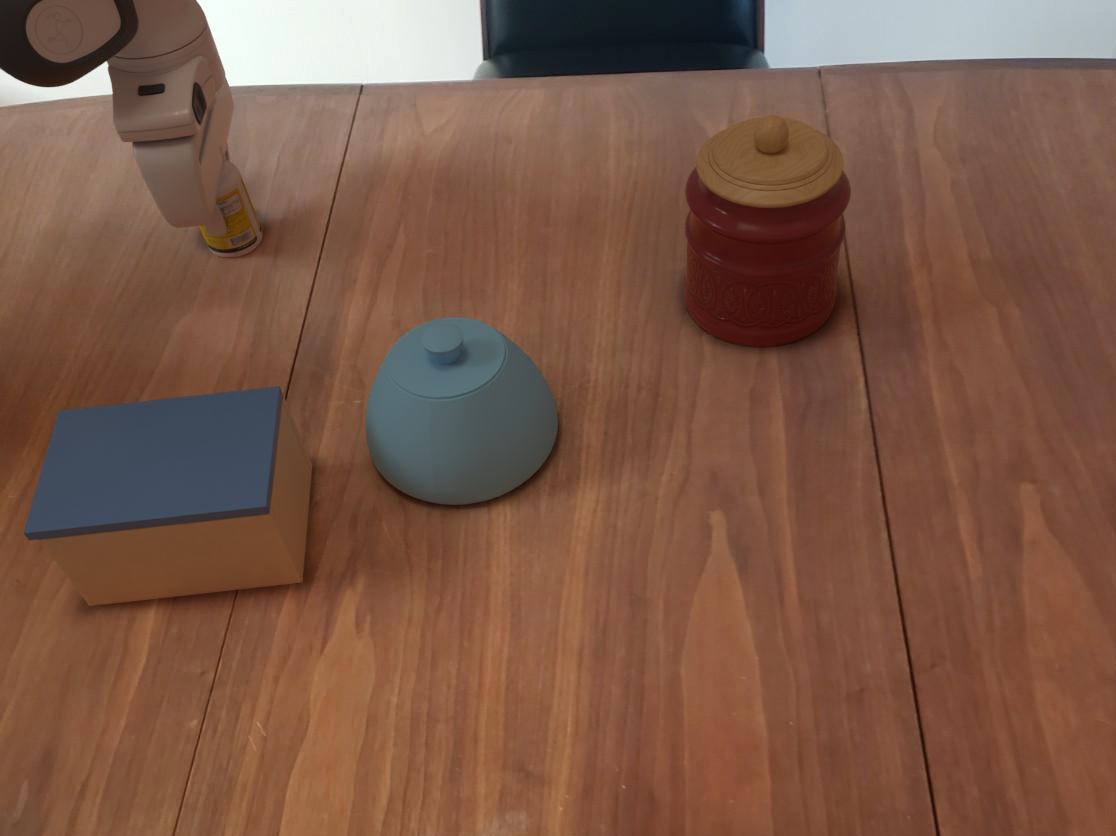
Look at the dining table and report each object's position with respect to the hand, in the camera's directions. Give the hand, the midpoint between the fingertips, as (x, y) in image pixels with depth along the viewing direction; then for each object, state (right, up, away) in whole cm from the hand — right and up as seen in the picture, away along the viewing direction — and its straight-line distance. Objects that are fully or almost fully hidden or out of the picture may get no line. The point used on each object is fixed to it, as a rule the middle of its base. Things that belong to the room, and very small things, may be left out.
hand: (223, 209), depth 102 cm
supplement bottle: (0, -2, +3) cm, 4 cm away
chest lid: (+5, -27, -26) cm, 38 cm away
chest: (+6, -32, -19) cm, 38 cm away
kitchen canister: (+50, -11, -7) cm, 51 cm away
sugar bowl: (+25, -25, -15) cm, 38 cm away
